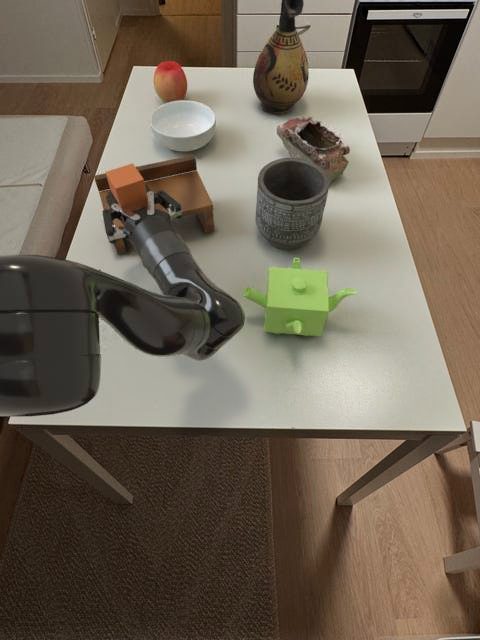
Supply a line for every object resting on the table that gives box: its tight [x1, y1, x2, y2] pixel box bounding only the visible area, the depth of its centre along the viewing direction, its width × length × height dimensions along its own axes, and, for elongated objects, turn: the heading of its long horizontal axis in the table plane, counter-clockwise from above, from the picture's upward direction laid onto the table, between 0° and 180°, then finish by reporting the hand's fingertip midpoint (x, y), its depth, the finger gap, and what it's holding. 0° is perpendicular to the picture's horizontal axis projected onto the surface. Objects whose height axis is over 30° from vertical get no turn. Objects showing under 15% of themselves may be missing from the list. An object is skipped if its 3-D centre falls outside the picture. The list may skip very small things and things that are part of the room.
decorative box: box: [276, 115, 351, 183], centre depth 103 cm, size 13×20×10 cm, turn 28°
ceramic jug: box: [252, 0, 310, 116], centre depth 110 cm, size 17×15×30 cm
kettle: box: [242, 257, 358, 337], centre depth 76 cm, size 15×14×11 cm
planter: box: [255, 157, 331, 251], centre depth 87 cm, size 14×14×15 cm
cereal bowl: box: [149, 99, 217, 152], centre depth 109 cm, size 17×17×7 cm
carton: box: [104, 162, 148, 226], centre depth 75 cm, size 5×5×12 cm
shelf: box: [93, 154, 215, 255], centre depth 90 cm, size 22×14×11 cm, turn 110°
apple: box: [153, 60, 188, 103], centre depth 119 cm, size 10×10×10 cm
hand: (125, 190), depth 75 cm, fingers closed on carton, 5 cm apart
